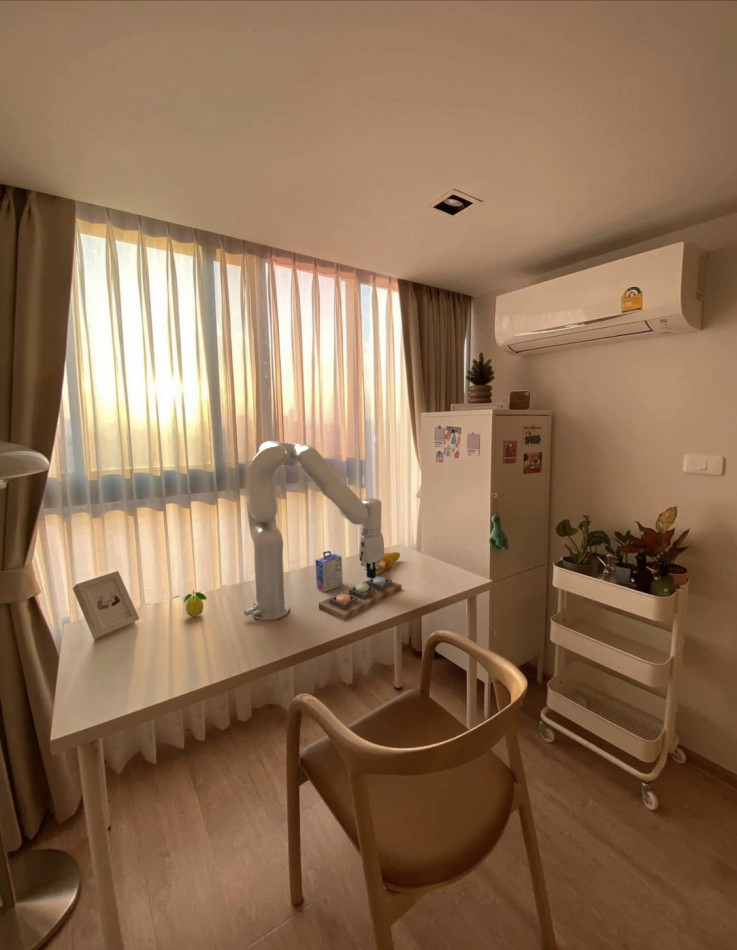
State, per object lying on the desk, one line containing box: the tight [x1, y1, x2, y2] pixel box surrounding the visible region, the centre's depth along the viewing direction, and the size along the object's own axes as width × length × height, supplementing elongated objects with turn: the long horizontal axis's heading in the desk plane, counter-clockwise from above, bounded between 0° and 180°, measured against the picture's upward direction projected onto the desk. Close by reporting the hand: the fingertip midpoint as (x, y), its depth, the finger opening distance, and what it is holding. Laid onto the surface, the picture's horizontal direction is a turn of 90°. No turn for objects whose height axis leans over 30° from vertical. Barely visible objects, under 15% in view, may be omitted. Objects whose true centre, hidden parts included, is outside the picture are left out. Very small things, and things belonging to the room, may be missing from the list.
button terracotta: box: [336, 594, 350, 603], centre depth 146 cm, size 5×5×2 cm
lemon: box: [183, 589, 207, 618], centre depth 140 cm, size 7×6×10 cm
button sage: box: [355, 582, 369, 594], centre depth 153 cm, size 5×5×2 cm
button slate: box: [373, 576, 386, 585], centre depth 160 cm, size 5×5×2 cm
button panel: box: [318, 575, 403, 621], centre depth 153 cm, size 32×13×4 cm, turn 138°
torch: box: [363, 551, 401, 576], centre depth 181 cm, size 8×8×25 cm
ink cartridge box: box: [314, 550, 344, 593], centre depth 163 cm, size 10×6×14 cm, turn 133°
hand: (371, 577), depth 156 cm, fingers closed
